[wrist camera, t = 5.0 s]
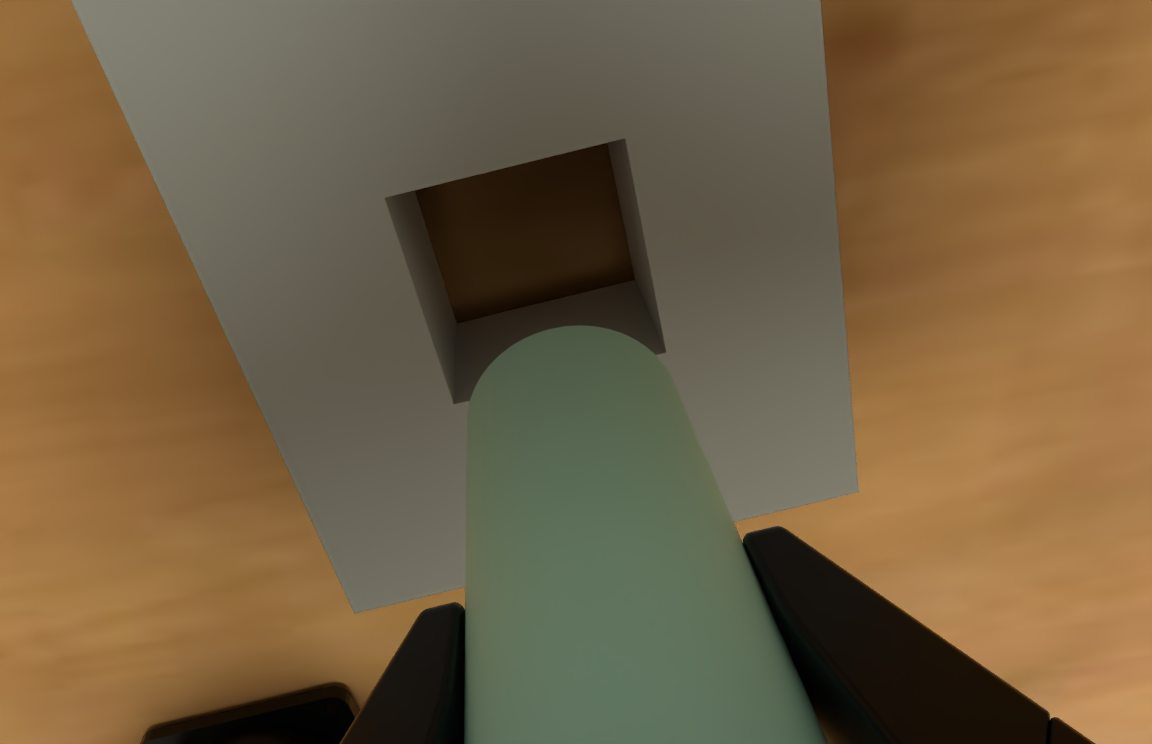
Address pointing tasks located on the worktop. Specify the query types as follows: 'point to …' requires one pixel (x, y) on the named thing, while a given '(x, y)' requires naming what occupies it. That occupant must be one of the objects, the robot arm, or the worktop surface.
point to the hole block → (471, 147)
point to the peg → (609, 564)
